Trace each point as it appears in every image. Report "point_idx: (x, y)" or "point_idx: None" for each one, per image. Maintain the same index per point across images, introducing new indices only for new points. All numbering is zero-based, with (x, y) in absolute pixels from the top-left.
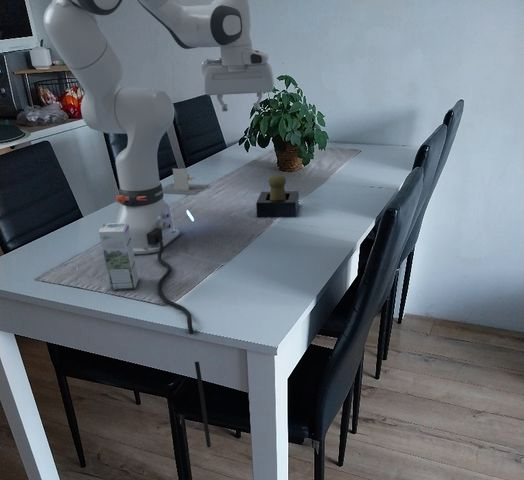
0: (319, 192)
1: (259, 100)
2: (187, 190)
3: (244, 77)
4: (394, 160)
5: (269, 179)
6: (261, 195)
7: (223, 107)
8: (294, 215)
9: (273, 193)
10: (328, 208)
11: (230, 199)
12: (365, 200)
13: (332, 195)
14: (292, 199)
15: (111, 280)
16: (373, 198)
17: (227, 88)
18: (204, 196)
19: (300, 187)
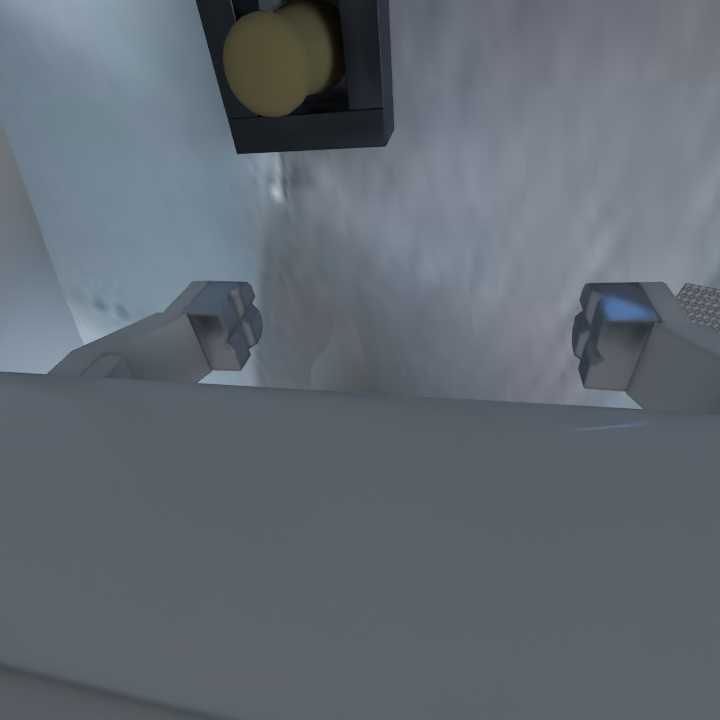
0: (238, 276)
1: (128, 330)
2: (713, 329)
3: (51, 715)
4: None
5: (297, 47)
6: (373, 78)
7: (651, 302)
8: None
9: (295, 20)
10: (141, 94)
11: (533, 214)
12: (76, 190)
13: (190, 245)
14: (213, 4)
15: None
16: (65, 210)
17: (634, 502)
18: (646, 256)
19: (308, 326)
